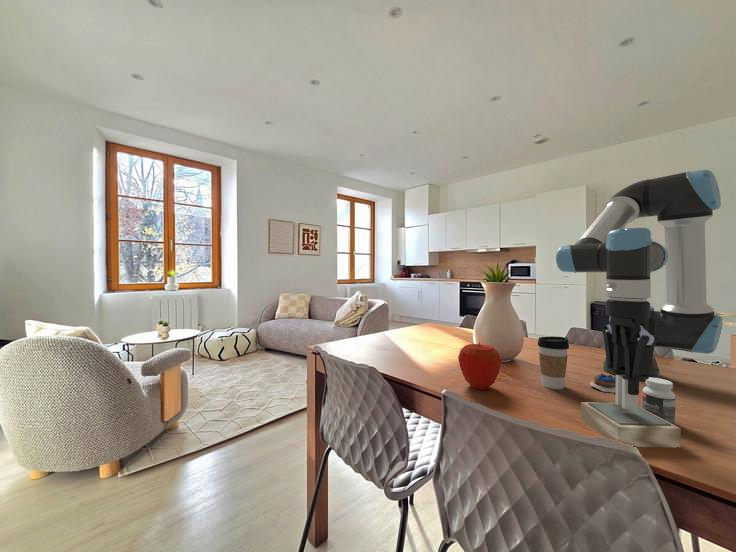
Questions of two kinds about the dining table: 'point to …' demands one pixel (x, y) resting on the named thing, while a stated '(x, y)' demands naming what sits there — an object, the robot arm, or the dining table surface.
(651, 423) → the tray
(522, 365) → the dining table surface
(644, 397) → the pill bottle
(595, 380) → the dessert
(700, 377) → the dining table surface
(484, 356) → the apple
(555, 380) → the coffee cup
